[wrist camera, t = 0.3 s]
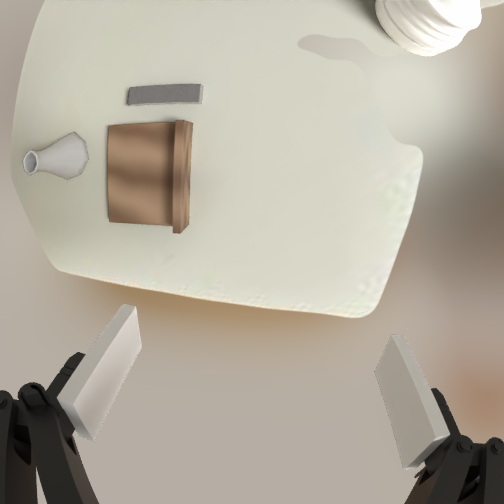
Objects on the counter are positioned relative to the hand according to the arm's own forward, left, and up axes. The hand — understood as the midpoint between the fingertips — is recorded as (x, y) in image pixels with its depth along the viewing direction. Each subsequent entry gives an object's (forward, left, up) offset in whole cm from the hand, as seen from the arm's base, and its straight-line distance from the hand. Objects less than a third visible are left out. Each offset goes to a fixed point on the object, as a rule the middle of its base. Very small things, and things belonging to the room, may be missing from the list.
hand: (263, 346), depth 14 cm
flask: (-8, -30, -28) cm, 42 cm away
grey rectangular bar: (-16, -14, -28) cm, 35 cm away
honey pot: (-34, +20, -28) cm, 48 cm away
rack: (-5, -16, -27) cm, 32 cm away
